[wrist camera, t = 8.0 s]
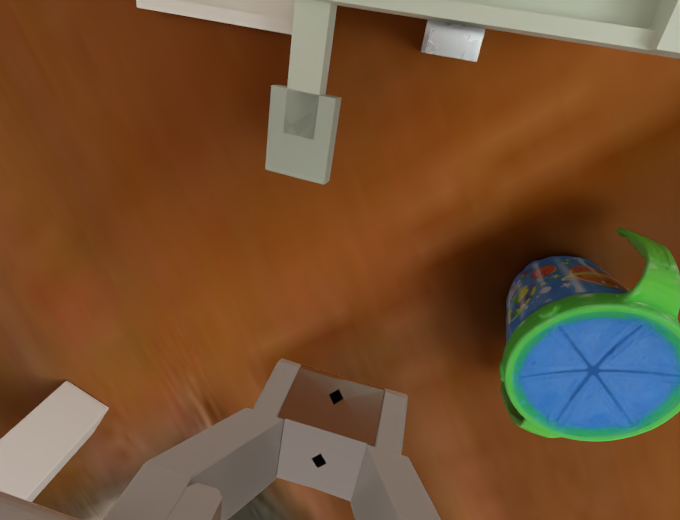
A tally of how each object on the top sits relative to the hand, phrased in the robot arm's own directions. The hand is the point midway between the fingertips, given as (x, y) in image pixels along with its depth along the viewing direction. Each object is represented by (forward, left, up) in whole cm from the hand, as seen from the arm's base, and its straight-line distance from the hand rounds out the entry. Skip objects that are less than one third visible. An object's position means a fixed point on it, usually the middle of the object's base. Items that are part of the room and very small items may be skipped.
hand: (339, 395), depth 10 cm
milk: (+32, +37, -25) cm, 55 cm away
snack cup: (-14, +8, -25) cm, 30 cm away
